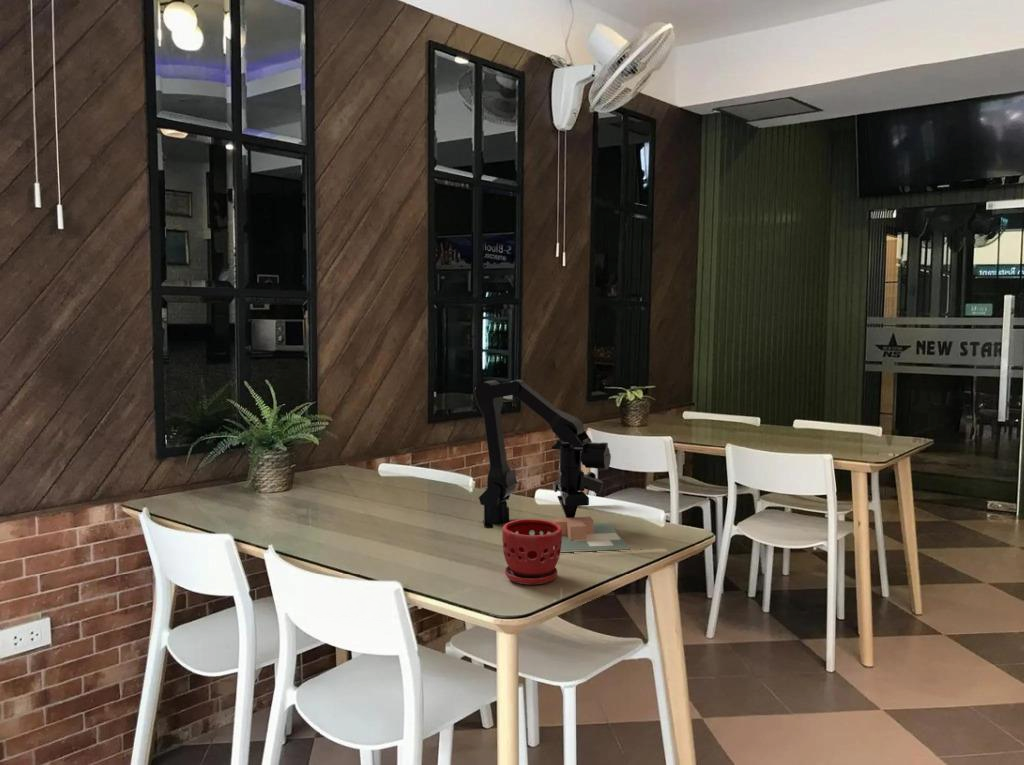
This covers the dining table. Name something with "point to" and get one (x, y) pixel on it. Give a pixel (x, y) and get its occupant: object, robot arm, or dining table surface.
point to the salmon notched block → (575, 527)
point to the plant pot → (531, 550)
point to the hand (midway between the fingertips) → (570, 524)
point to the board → (593, 540)
